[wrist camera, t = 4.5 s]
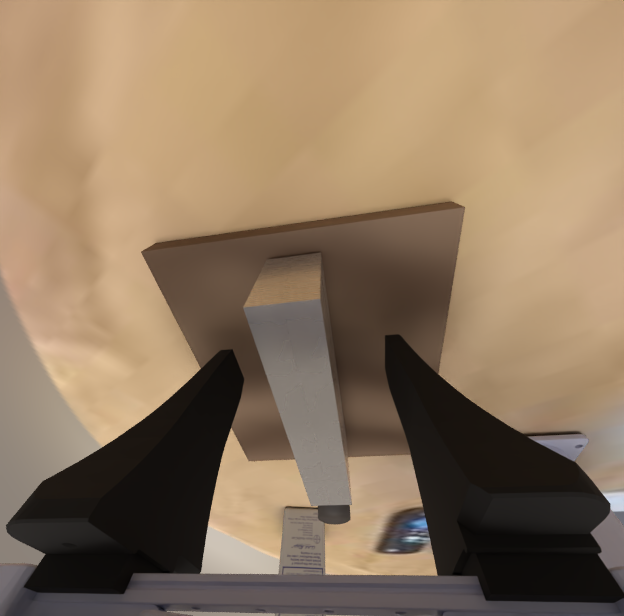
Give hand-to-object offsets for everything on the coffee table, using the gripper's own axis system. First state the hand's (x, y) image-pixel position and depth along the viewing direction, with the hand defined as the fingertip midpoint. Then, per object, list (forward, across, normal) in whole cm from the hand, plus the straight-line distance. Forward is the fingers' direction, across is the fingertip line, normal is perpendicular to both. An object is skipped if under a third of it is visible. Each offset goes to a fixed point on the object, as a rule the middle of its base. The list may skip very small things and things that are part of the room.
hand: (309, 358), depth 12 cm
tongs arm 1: (+2, +1, +3) cm, 3 cm away
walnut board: (+3, 0, +4) cm, 5 cm away
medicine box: (+3, +5, +28) cm, 29 cm away
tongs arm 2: (+2, -1, +2) cm, 3 cm away
